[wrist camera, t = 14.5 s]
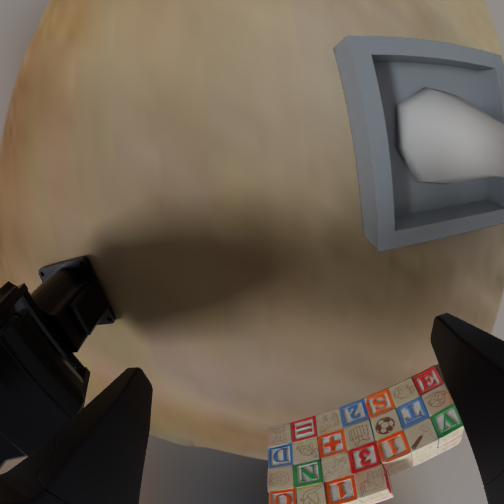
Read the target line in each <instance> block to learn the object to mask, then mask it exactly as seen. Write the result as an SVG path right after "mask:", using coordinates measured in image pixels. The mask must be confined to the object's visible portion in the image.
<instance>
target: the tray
mask: <svg viewBox="0 0 504 504" xmlns="http://www.w3.org/2000/svg"><path fill="white" fill-rule="evenodd" d="M333 49H334V52H335V56H336V60H337V64H338V68H339V72H340V77H341V81H342V85H343V90H344V95H345V99H346V104H347V109H348V115H349V120H350V126H351V132H352V138H353V144H354V150H355V157H356V164H357V172H358V180H359V189H360V199H361V209H362V221H363V235H364V236H365V237H366V238H367V239H368V240H369V241H370V243H371V244H372V245H373V246H374V247H375V248H376V250H377V251H378V252H381V251H386V250H390V249H395V248H400V247H404V246H409V245H413V244H418V243H422V242H427V241H431V240H436V239H440V238H444V237H449V236H453V235H457V234H461V233H466V232H470V231H474V230H478V229H482V228H486V227H490V226H494V225H499V224H503V223H504V177H498V176H494V177H487V178H479V179H472V180H467V181H463V182H458V183H454V184H447V185H445V184H434V183H420V182H416V181H415V179H414V177H413V175H412V173H411V171H410V170H409V168H408V166H407V164H406V162H405V160H404V159H403V157H402V155H401V153H400V152H399V150H398V148H397V105H399V104H400V103H401V102H403V101H404V100H406V99H407V98H409V97H410V96H412V95H413V94H414V93H416V92H417V91H419V90H420V89H422V88H423V87H427V88H432V89H436V90H440V91H443V92H447V93H451V94H454V95H456V96H458V97H460V98H462V99H464V100H465V101H467V102H469V103H470V104H472V105H473V106H475V107H476V108H478V109H480V110H481V111H483V112H485V113H486V114H488V115H490V116H491V117H493V118H495V119H496V120H498V121H499V122H501V123H503V124H504V66H503V61H502V57H501V56H500V55H497V54H493V53H490V52H486V51H482V50H478V49H474V48H469V47H465V46H460V45H454V44H449V43H443V42H436V41H429V40H421V39H412V38H400V37H384V36H346V37H345V38H344V39H343V40H342V41H341V42H340V43H339V44H337V45H336V46H335V47H334V48H333Z"/></svg>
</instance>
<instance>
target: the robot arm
mask: <svg viewBox="0 0 504 504" xmlns="http://www.w3.org/2000/svg"><path fill="white" fill-rule="evenodd" d="M83 262H84V263H85V264H84V263H83ZM39 275H40V278H41V280H42V282H43V283H42V284H41V285H40V286H39V287H38V288H37V289H36V290H35V291H34V292H33V293H32V294H31V295H30V293H29V292H28V288H27V286H26V285H25V283H23V284H21V285H20V286H18V287H17V286H16V285H13V284H12V283H10V282H9V281H8V282H7V283H6V284H4V285H3V286H2V287H1V288H0V468H1V467H2V466H3V465H4V463H5V462H6V461H8V460H12V459H18V458H22V457H26V456H28V457H27V458H26V459H24V460H23V461H22V462H20V463H19V464H18V465H16V466H15V467H13V468H12V469H11V470H9V471H8V472H6V473H4V474H1V475H0V504H139V495H140V488H141V481H142V474H143V467H144V461H145V455H146V448H147V443H148V436H149V430H150V417H151V404H152V392H153V389H152V385H151V383H150V381H149V380H148V378H147V377H146V375H145V374H144V372H143V371H142V369H140V368H138V367H136V368H127V369H126V370H125V371H124V372H123V373H122V374H121V375H120V376H118V377H117V378H116V379H115V380H114V381H113V382H112V383H111V384H110V385H109V386H108V387H106V388H105V389H104V390H103V391H102V392H101V393H100V394H99V395H98V396H97V397H95V398H94V399H93V400H92V401H91V402H90V403H89V404H88V405H87V406H86V407H84V403H85V397H86V392H87V386H88V381H89V377H90V371H89V370H88V369H87V368H86V367H84V366H83V365H82V364H81V362H80V361H79V360H78V359H77V358H76V357H75V355H74V354H73V353H74V352H78V350H79V349H80V347H81V346H82V344H83V342H84V341H85V339H86V338H87V336H88V335H90V334H91V333H92V331H93V329H94V328H95V326H96V325H101V324H111V323H114V321H115V320H116V316H115V314H114V312H113V310H112V308H111V306H110V304H109V302H108V300H107V298H106V296H105V294H104V292H103V290H102V288H101V286H100V284H99V281H98V279H97V277H96V275H95V273H94V270H93V268H92V266H91V264H90V261H89V259H88V258H87V257H85V256H83V257H79V258H75V259H71V260H67V261H64V262H60V263H56V264H53V265H49V266H45V267H42V268H41V269H40V270H39ZM110 317H111V318H110ZM431 344H432V347H433V349H434V352H435V355H436V357H437V360H438V363H439V366H440V369H441V372H442V375H443V378H444V380H445V383H446V386H447V388H448V390H449V393H450V395H451V397H452V399H453V402H454V404H455V406H456V409H457V411H458V413H459V416H460V418H461V421H462V423H463V426H464V428H465V431H466V433H467V436H468V439H469V442H470V445H471V447H472V450H473V453H474V456H475V459H476V462H477V465H478V468H479V471H480V475H481V478H482V481H483V485H484V489H485V493H486V497H487V500H488V504H504V341H502V340H501V339H498V338H497V337H495V336H493V335H491V334H489V333H487V332H485V331H483V330H481V329H479V328H477V327H475V326H473V325H471V324H469V323H467V322H465V321H463V320H461V319H459V318H457V317H455V316H453V315H451V314H448V313H444V314H441V315H438V316H436V317H435V319H434V323H433V328H432V333H431Z"/></svg>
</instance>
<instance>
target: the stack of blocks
mask: <svg viewBox="0 0 504 504" xmlns="http://www.w3.org/2000/svg"><path fill="white" fill-rule="evenodd" d="M463 430H464V426H463V423H462V421H461V418H460V416H459V413H458V411H457V409H456V406H455V404H454V402H453V400H452V398H451V396H450V394H449V392H448V390H447V388H446V386H445V384H444V383H443V381H442V379H441V377H440V375H439V373H438V371H437V370H436V368H435V367H434V366H433V367H431V368H429V369H427V370H426V371H424V372H422V373H420V374H418V375H416V376H414V377H413V378H409V379H407V380H405V381H403V382H400V383H398V384H396V385H394V386H392V387H390V388H389V389H385V390H383V391H380V392H378V393H376V394H373V395H371V396H368V397H366V398H364V399H361V400H359V401H356V402H354V403H351V404H348V405H346V406H343V407H340V408H338V409H335V410H332V411H329V412H326V413H323V414H320V415H317V416H313V417H309V418H306V419H303V420H299V421H296V422H292V423H288V424H284V425H281V426H277V427H273V428H269V429H268V492H269V504H375V503H378V502H381V501H384V500H387V499H390V498H393V497H394V495H393V490H392V485H391V480H390V476H391V475H393V474H396V473H398V472H401V471H403V470H406V469H408V468H410V467H412V466H415V465H418V464H420V463H422V462H424V461H426V460H429V459H431V458H433V457H435V456H437V455H438V454H441V453H442V452H444V451H446V450H448V449H450V448H452V447H453V446H456V445H457V444H459V443H460V441H461V438H462V433H463Z"/></svg>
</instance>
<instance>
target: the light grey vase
mask: <svg viewBox="0 0 504 504" xmlns="http://www.w3.org/2000/svg"><path fill="white" fill-rule="evenodd" d="M397 148H398V150H399V152H400V153H401V155H402V157H403V159H404V160H405V162H406V164H407V166H408V168H409V170H410V171H411V173H412V175H413V177H414V179H415V181H416V182H420V183H434V184H445V185H447V184H454V183H458V182H463V181H467V180H472V179H479V178H487V177H494V176H498V177H504V124H503V123H501V122H499V121H498V120H496V119H495V118H493V117H491V116H490V115H488V114H486V113H485V112H483V111H481V110H480V109H478V108H476V107H475V106H473V105H472V104H470V103H469V102H467V101H465V100H464V99H462V98H460V97H458V96H456V95H454V94H451V93H447V92H443V91H440V90H436V89H432V88H427V87H423V88H422V89H420V90H419V91H417V92H416V93H414V94H413V95H412V96H410V97H409V98H407V99H406V100H404V101H403V102H401V103H400V104H399V105H397Z"/></svg>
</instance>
